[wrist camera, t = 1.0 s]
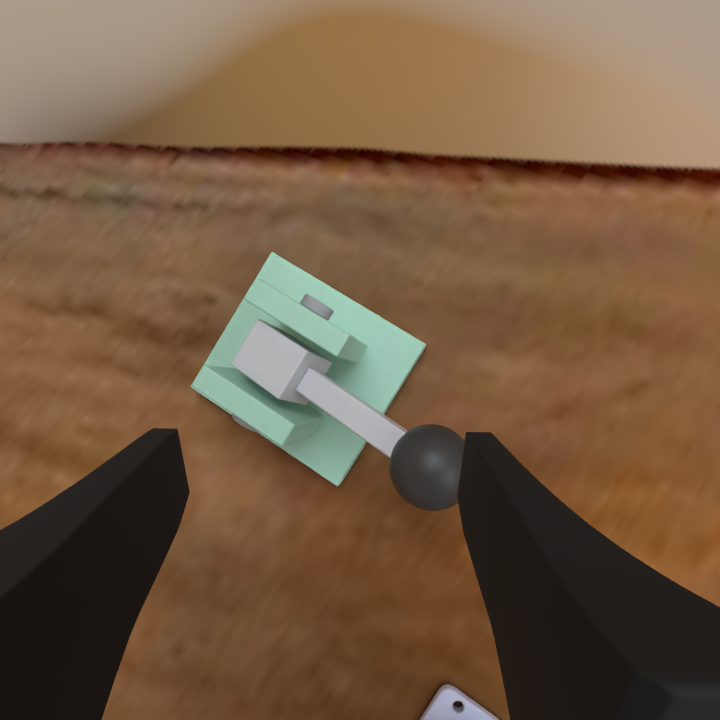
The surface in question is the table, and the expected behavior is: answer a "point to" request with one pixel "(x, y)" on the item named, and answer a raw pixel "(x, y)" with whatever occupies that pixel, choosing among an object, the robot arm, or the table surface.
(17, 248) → the table surface
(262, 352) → the lever
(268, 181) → the table surface
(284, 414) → the bracket
